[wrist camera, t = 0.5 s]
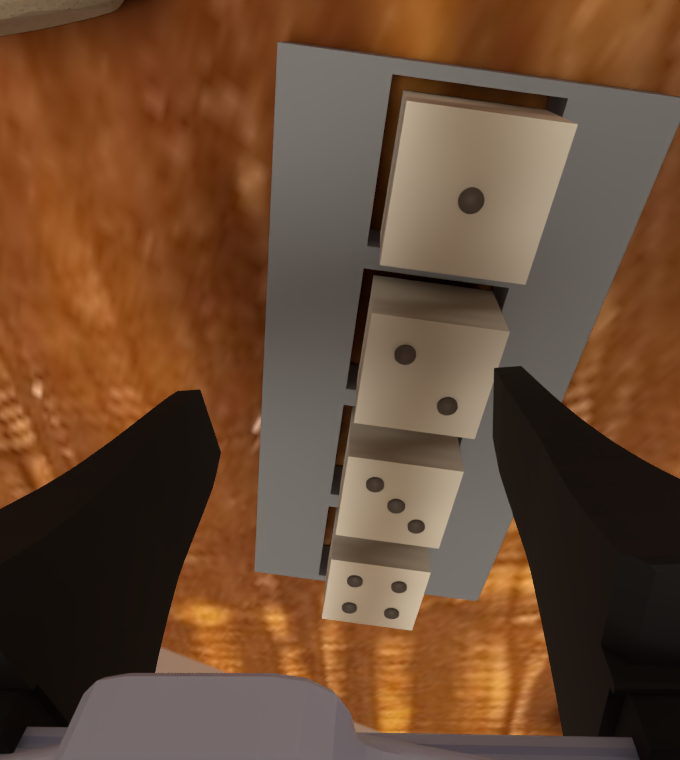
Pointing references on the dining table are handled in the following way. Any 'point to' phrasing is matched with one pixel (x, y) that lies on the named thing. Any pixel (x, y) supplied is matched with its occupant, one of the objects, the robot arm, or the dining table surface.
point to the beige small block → (398, 485)
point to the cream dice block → (428, 356)
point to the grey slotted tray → (362, 250)
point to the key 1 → (471, 186)
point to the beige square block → (374, 581)
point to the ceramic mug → (49, 13)
